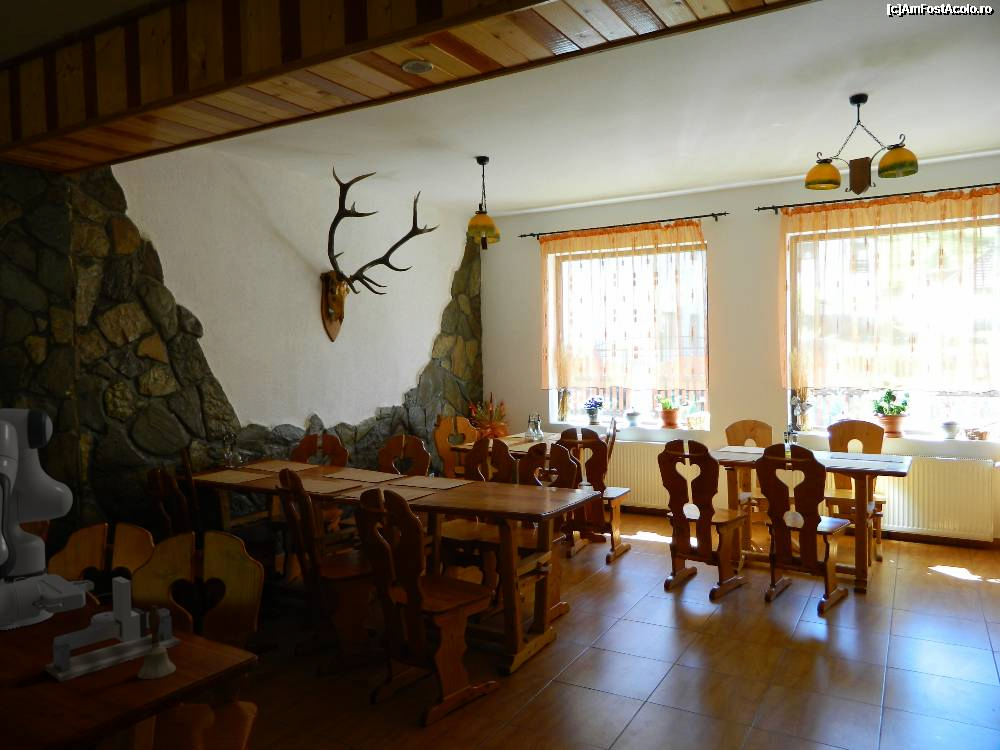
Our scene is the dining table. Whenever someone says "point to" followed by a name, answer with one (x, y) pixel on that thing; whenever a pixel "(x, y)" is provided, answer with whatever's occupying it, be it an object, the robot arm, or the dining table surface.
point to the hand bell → (155, 652)
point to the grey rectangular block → (125, 610)
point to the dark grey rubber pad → (142, 622)
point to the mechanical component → (101, 619)
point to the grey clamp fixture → (100, 638)
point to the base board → (108, 657)
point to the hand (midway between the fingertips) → (91, 584)
